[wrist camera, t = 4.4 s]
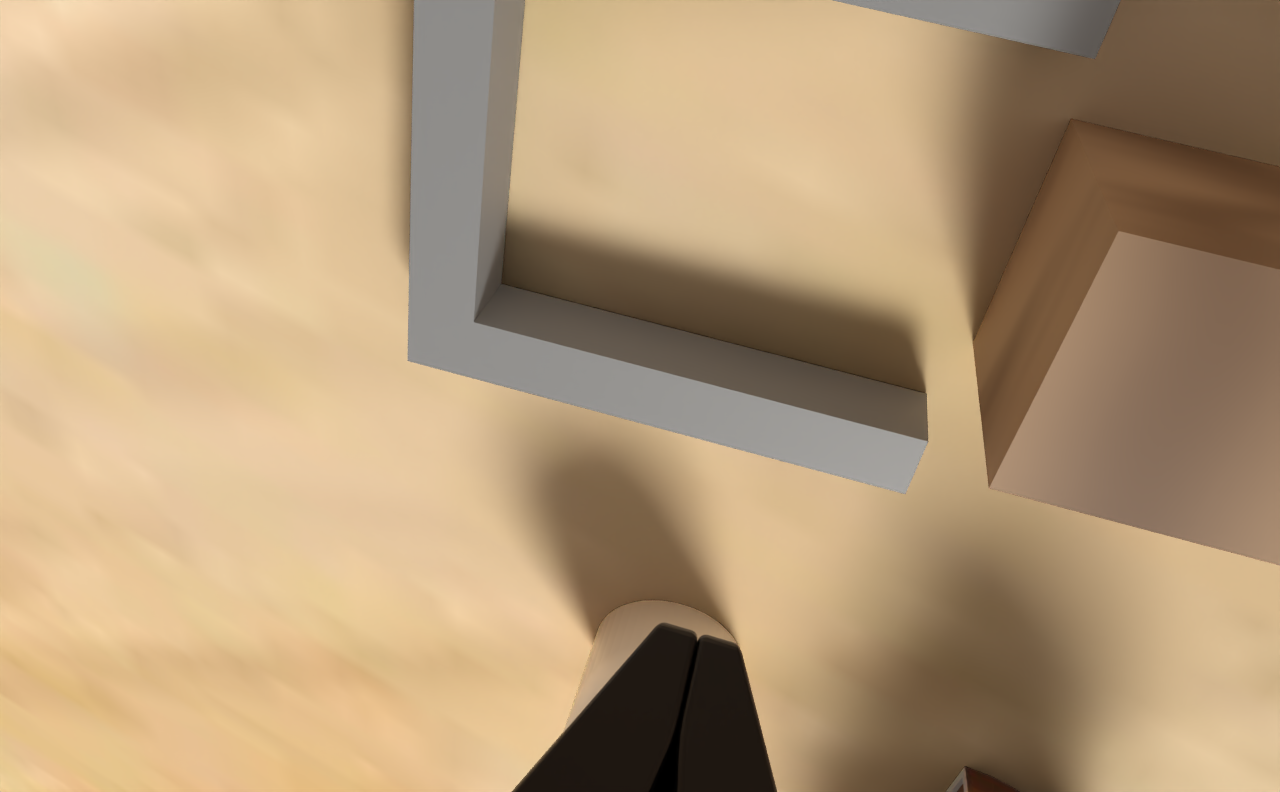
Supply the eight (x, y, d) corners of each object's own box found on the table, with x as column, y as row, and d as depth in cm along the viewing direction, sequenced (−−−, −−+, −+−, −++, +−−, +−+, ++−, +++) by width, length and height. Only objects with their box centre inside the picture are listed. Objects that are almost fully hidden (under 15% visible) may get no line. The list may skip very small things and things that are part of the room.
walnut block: (1348, 181, 17) (1481, 318, 13) (1208, 400, 20) (1283, 566, 16) (1070, 117, 18) (1118, 231, 14) (972, 341, 21) (988, 488, 17)
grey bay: (1117, -62, 16) (1138, -41, 15) (905, 445, 22) (905, 494, 21) (458, -202, 17) (417, -195, 16) (437, 321, 23) (407, 360, 22)
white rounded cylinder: (758, 625, 27) (726, 821, 22) (725, 719, 30) (690, 912, 25) (607, 583, 27) (543, 765, 23) (588, 678, 30) (527, 861, 25)
